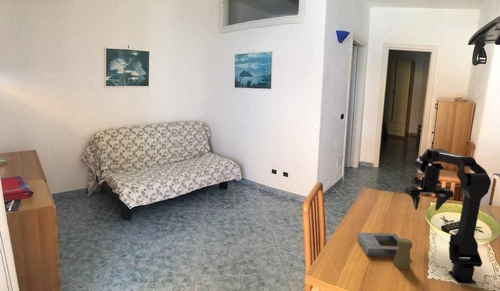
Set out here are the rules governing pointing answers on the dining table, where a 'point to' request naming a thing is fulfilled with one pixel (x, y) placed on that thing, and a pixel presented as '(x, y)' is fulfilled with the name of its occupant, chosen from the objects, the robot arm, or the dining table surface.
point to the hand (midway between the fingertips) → (425, 209)
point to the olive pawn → (403, 254)
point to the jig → (374, 248)
